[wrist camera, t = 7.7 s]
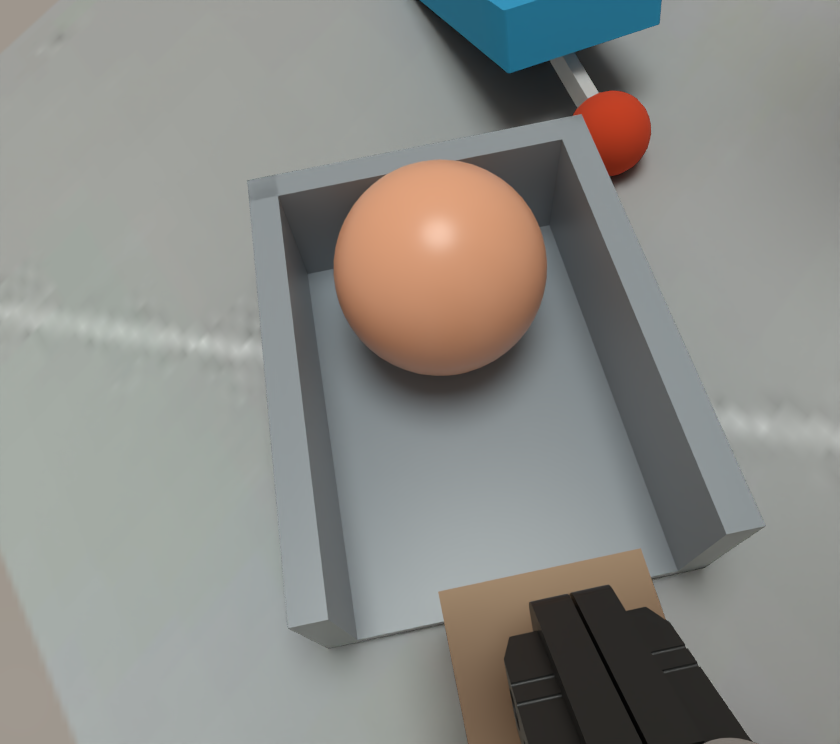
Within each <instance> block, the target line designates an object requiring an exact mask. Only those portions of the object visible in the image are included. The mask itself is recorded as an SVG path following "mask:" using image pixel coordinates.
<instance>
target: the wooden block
mask: <svg viewBox="0 0 840 744" xmlns="http://www.w3.org/2000/svg"><path fill="white" fill-rule="evenodd" d="M608 584H609V585H610V586H611V587H612V589H613V590H614V592H615V593H616V595H617V597H618V598H619V600H620V602H621V603H622V605H623V607H624V608H625V610H626V611H628V610H632V609H637V608H641V607H647V608H649V609H650V610H652V611H653V612H655V613H656V614H658V615H659V616H661V617H662V618H664V619H665V616H664V613H663V610H662V607H661V605H660V602H659V599H658V596H657V593H656V590H655V588H654V585H653V582H652V579H651V576H650V573H649V570H648V568H647V565H646V562H645V559H644V556H643V553H642V550H641V548H640V549H635V550H630V551H626V552H621V553H616V554H612V555H607V556H602V557H597V558H593V559H588V560H583V561H579V562H574V563H569V564H565V565H560V566H555V567H551V568H546V569H541V570H537V571H532V572H527V573H523V574H518V575H513V576H509V577H504V578H499V579H495V580H490V581H485V582H481V583H476V584H471V585H467V586H462V587H457V588H453V589H448V590H443V591H439V592H438V594H439V599H440V604H441V609H442V614H443V619H444V624H445V629H446V634H447V639H448V644H449V649H450V654H451V660H452V665H453V670H454V675H455V680H456V685H457V690H458V695H459V700H460V705H461V710H462V715H463V720H464V725H465V730H466V735H467V740H468V744H521V741H520V737H519V734H518V730H517V727H516V721H515V716H514V711H513V706H512V700H511V695H510V690H509V685H508V679H507V674H506V669H505V664H504V656H505V652H506V648H507V644H508V640H509V637H511V636H515V635H520V634H524V633H529V632H533V628H532V622H531V616H530V610H529V602H531V601H535V600H540V599H544V598H549V597H554V596H558V595H563V594H570V593H571V592H576V591H580V590H585V589H589V588H594V587H598V586H603V585H608ZM665 620H666V619H665Z"/></svg>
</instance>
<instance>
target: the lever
mask: <svg viewBox="0 0 840 744" xmlns="http://www.w3.org/2000/svg"><path fill="white" fill-rule="evenodd" d="M420 1H421V2H423V3H424V4H425V5H426V6H427V7H429V8H430V9H431V10H432V11H433V12H435V13H436V14H437V15H438V16H439V17H441V18H442V19H443V20H444V21H445V22H447V23H448V24H449V25H450V26H452V27H453V28H454V29H455V30H456V31H458V32H459V33H460V34H461V35H462V36H464V37H465V38H466V39H467V40H468V41H470V42H471V43H472V44H473V45H474V46H476V47H477V48H478V49H479V50H480V51H482V52H483V53H484V54H485V55H486V56H488V57H489V58H490V59H491V60H493V61H494V62H495V63H496V64H497V65H499V66H500V67H501V68H502V69H503V70H505V71H506V72H507V73H512V72H515V71H518V70H521V69H524V68H528V67H531V66H534V65H537V64H540V63H543V62H546V61H549V60H550V62H551V64H552V66H553V67H554V69H555V71H556V72H557V74H558V76H559V78H560V79H561V81H562V83H563V84H564V86H565V88H566V89H567V91H568V93H569V95H570V96H571V98H572V100H573V101H574V103H575V105H576V106H577V109H576V111H575V112H574V114H573V116H574V115H579V114H582V116H583V118H584V121H585V123H586V125H587V127H588V130H589V132H590V134H591V136H592V139H593V141H594V143H595V145H596V148H597V150H598V152H599V154H600V156H601V159H602V161H603V163H604V165H605V168H606V170H607V172H608V174H609V176H614V175H619V174H621V173H623V172H625V171H626V170H628V169H630V168H632V167H633V166H634V165H635V164H636V163H637V162H638V161H639V160H640V159H641V157H642V156H643V155H644V153H645V151H646V150H647V148H648V144H649V140H650V136H651V123H650V119H649V116H648V114H647V111H646V109H645V107H644V106H643V105H642V104H641V103H640V102H639V101H638V99H636V98H635V97H633V96H632V95H630V94H628V93H625V92H621V91H606V92H601V93H599V92H598V91H597V89H596V87H595V86H594V84H593V82H592V81H591V79H590V78H589V76H588V74H587V73H586V71H585V69H584V68H583V66H582V64H581V63H580V61H579V59H578V58H577V56H576V54H575V53H574V52H576V51H579V50H582V49H585V48H588V47H591V46H594V45H598V44H601V43H604V42H607V41H610V40H613V39H616V38H619V37H622V36H625V35H628V34H631V33H634V32H637V31H640V30H643V29H646V28H649V27H652V26H655V25H658V24H659V23H660V12H661V1H662V0H420Z"/></svg>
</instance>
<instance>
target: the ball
mask: <svg viewBox="0 0 840 744" xmlns="http://www.w3.org/2000/svg"><path fill="white" fill-rule="evenodd" d="M546 279H547V257H546V249H545V244H544V240H543V235H542V233H541V230H540V227H539V225H538V222H537V220H536V218H535V216H534V215H533V213H532V211H531V209H530V208H529V206H528V205H527V204H526V202H525V201H524V199H523V198H522V197H521V196H520V195H519V194H518V193H517V192H516V191H515V190H514V189H513V187H511V186H510V185H509V184H508V183H506V182H505V181H504V180H502V179H501V178H500V177H498V176H496V175H495V174H493V173H491V172H489V171H488V170H485V169H483V168H481V167H478V166H476V165H473V164H469V163H465V162H461V161H455V160H442V159H439V160H428V161H421V162H417V163H413V164H409V165H406V166H403V167H400V168H398V169H396V170H394V171H392V172H390V173H388V174H386V175H385V176H383V177H382V178H381V179H379V180H378V181H376V182H375V183H374V184H372V185H371V186H370V187H369V188H368V189H367V190H366V191H365V192H364V193H363V194H362V195H361V196H360V197H359V199H358V200H357V201H356V203H355V204H354V205H353V207H352V208H351V210H350V212H349V213H348V215H347V217H346V218H345V220H344V223H343V225H342V227H341V230H340V232H339V236H338V239H337V243H336V247H335V254H334V282H335V290H336V293H337V297H338V301H339V304H340V306H341V309H342V311H343V314H344V316H345V318H346V320H347V321H348V323H349V325H350V327H351V328H352V330H353V331H354V332H355V334H356V335H357V336H358V338H359V339H360V340H361V341H362V342H363V343H364V344H365V345H366V346H367V347H368V348H369V349H370V350H371V351H372V352H374V353H375V354H376V355H378V356H379V357H380V358H382V359H384V360H385V361H387V362H389V363H390V364H392V365H394V366H397V367H399V368H401V369H404V370H407V371H410V372H414V373H418V374H424V375H431V376H449V375H457V374H462V373H467V372H470V371H473V370H476V369H479V368H481V367H483V366H485V365H487V364H489V363H491V362H493V361H495V360H496V359H498V358H499V357H501V356H502V355H504V354H505V353H506V352H508V351H509V350H510V349H511V348H512V347H513V346H514V345H515V344H516V343H517V342H518V341H519V340H520V339H521V338H522V336H523V335H524V334H525V333H526V331H527V330H528V328H529V327H530V325H531V324H532V322H533V320H534V318H535V316H536V314H537V312H538V310H539V308H540V305H541V301H542V298H543V295H544V291H545V285H546Z"/></svg>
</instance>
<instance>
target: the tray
mask: <svg viewBox="0 0 840 744" xmlns="http://www.w3.org/2000/svg"><path fill="white" fill-rule="evenodd" d="M439 159H442V160H455V161H461V162H465V163H469V164H473V165H476V166H478V167H481V168H483V169H485V170H488V171H489V172H491V173H493V174H495V175H496V176H498V177H500V178H501V179H502V180H504V181H505V182H506V183H508V184H509V185H510V186H511V187H513V189H514V190H515V191H516V192H517V193H518V194H519V195H520V196H521V197H522V198H523V199H524V201H525V202H526V204H527V205H528V206H529V208H530V209H531V211H532V213H533V215H534V216H535V218H536V220H537V222H538V225H539V227H540V230H541V233H542V235H543V240H544V244H545V249H546V257H547V279H546V285H545V291H544V295H543V298H542V301H541V305H540V308H539V310H538V312H537V314H536V316H535V318H534V320H533V322H532V324H531V325H530V327H529V328H528V330H527V331H526V333H525V334H524V335H523V336H522V338H521V339H520V340H519V341H518V342H517V343H516V344H515V345H514V346H513V347H512V348H511V349H510V350H509V351H508V352H506V353H505V354H504V355H502V356H501V357H499V358H498V359H496V360H495V361H493V362H491V363H489V364H487V365H485V366H483V367H481V368H479V369H476V370H473V371H470V372H467V373H462V374H457V375H449V376H431V375H424V374H418V373H414V372H410V371H407V370H404V369H401V368H399V367H397V366H394V365H392V364H390V363H389V362H387V361H385V360H384V359H382V358H380V357H379V356H378V355H376V354H375V353H374V352H372V351H371V350H370V349H369V348H368V347H367V346H366V345H365V344H364V343H363V342H362V341H361V340H360V339H359V338H358V336H357V335H356V334H355V332H354V331H353V330H352V328H351V327H350V325H349V323H348V321H347V320H346V318H345V316H344V314H343V311H342V309H341V306H340V304H339V301H338V297H337V293H336V290H335V282H334V254H335V247H336V243H337V239H338V236H339V232H340V230H341V227H342V225H343V223H344V220H345V218H346V217H347V215H348V213H349V212H350V210H351V208H352V207H353V205H354V204H355V203H356V201H357V200H358V199H359V197H360V196H361V195H362V194H363V193H364V192H365V191H366V190H367V189H368V188H369V187H370V186H371V185H372V184H374V183H375V182H376V181H378V180H379V179H381V178H382V177H383V176H385V175H386V174H388V173H390V172H392V171H394V170H396V169H398V168H400V167H403V166H406V165H409V164H413V163H417V162H421V161H428V160H439ZM247 183H248V194H249V205H250V216H251V227H252V238H253V249H254V260H255V271H256V282H257V293H258V304H259V315H260V327H261V338H262V349H263V360H264V371H265V382H266V393H267V404H268V415H269V426H270V437H271V448H272V459H273V470H274V482H275V493H276V504H277V515H278V526H279V537H280V548H281V559H282V570H283V581H284V592H285V603H286V614H287V625H288V629H290V630H292V631H294V632H296V633H298V634H300V635H302V636H304V637H306V638H308V639H310V640H312V641H314V642H316V643H318V644H321V645H323V646H325V647H327V648H333V647H338V646H342V645H347V644H352V643H356V642H361V641H365V640H370V639H375V638H379V637H384V636H389V635H393V634H398V633H403V632H407V631H412V630H417V629H421V628H426V627H431V626H435V625H440V624H444V619H443V614H442V609H441V604H440V599H439V594H438V592H439V591H443V590H448V589H453V588H457V587H462V586H467V585H471V584H476V583H481V582H485V581H490V580H495V579H499V578H504V577H509V576H513V575H518V574H523V573H527V572H532V571H537V570H541V569H546V568H551V567H555V566H560V565H565V564H569V563H574V562H579V561H583V560H588V559H593V558H597V557H602V556H607V555H612V554H616V553H621V552H626V551H630V550H635V549H640V548H641V550H642V553H643V556H644V559H645V562H646V565H647V568H648V570H649V573H650V576H651V579H654V578H658V577H663V576H668V575H672V574H677V573H682V572H686V571H691V570H696V569H700V568H705V567H706V566H708V565H709V564H711V563H712V562H713V561H715V560H716V559H718V558H719V557H721V556H722V555H724V554H725V553H727V552H728V551H730V550H731V549H733V548H734V547H736V546H737V545H739V544H740V543H741V542H743V541H744V540H746V539H747V538H749V537H750V536H752V535H753V534H755V533H756V532H758V531H759V530H761V529H762V528H764V527H765V526H766V525H765V523H764V521H763V518H762V516H761V514H760V512H759V509H758V507H757V505H756V503H755V501H754V498H753V496H752V494H751V492H750V489H749V487H748V485H747V483H746V480H745V478H744V476H743V474H742V471H741V469H740V467H739V465H738V463H737V460H736V458H735V456H734V454H733V451H732V449H731V447H730V445H729V442H728V440H727V438H726V436H725V433H724V431H723V429H722V427H721V425H720V422H719V420H718V418H717V416H716V413H715V411H714V409H713V407H712V404H711V402H710V400H709V398H708V396H707V393H706V391H705V389H704V387H703V384H702V382H701V380H700V378H699V375H698V373H697V371H696V369H695V366H694V364H693V362H692V360H691V358H690V355H689V353H688V351H687V349H686V346H685V344H684V342H683V340H682V337H681V335H680V333H679V331H678V328H677V326H676V324H675V322H674V320H673V317H672V315H671V313H670V311H669V308H668V306H667V304H666V302H665V299H664V297H663V295H662V293H661V291H660V288H659V286H658V284H657V282H656V279H655V277H654V275H653V273H652V270H651V268H650V266H649V264H648V261H647V259H646V257H645V255H644V253H643V250H642V248H641V246H640V244H639V241H638V239H637V237H636V235H635V232H634V230H633V228H632V226H631V223H630V221H629V219H628V217H627V215H626V212H625V210H624V208H623V206H622V203H621V201H620V199H619V197H618V194H617V192H616V190H615V188H614V186H613V183H612V181H611V179H610V177H609V174H608V172H607V170H606V168H605V165H604V163H603V161H602V159H601V156H600V154H599V152H598V150H597V148H596V145H595V143H594V141H593V139H592V136H591V134H590V132H589V130H588V127H587V125H586V123H585V121H584V118H583V116H582V114H579V115H574V116H569V117H564V118H559V119H554V120H549V121H544V122H539V123H534V124H529V125H524V126H519V127H514V128H509V129H504V130H499V131H494V132H489V133H484V134H479V135H473V136H468V137H463V138H458V139H453V140H448V141H443V142H438V143H433V144H428V145H423V146H418V147H413V148H408V149H403V150H398V151H393V152H388V153H383V154H378V155H373V156H368V157H363V158H358V159H353V160H348V161H343V162H337V163H332V164H327V165H322V166H317V167H312V168H307V169H302V170H297V171H292V172H287V173H282V174H277V175H272V176H267V177H262V178H257V179H252V180H247Z"/></svg>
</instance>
